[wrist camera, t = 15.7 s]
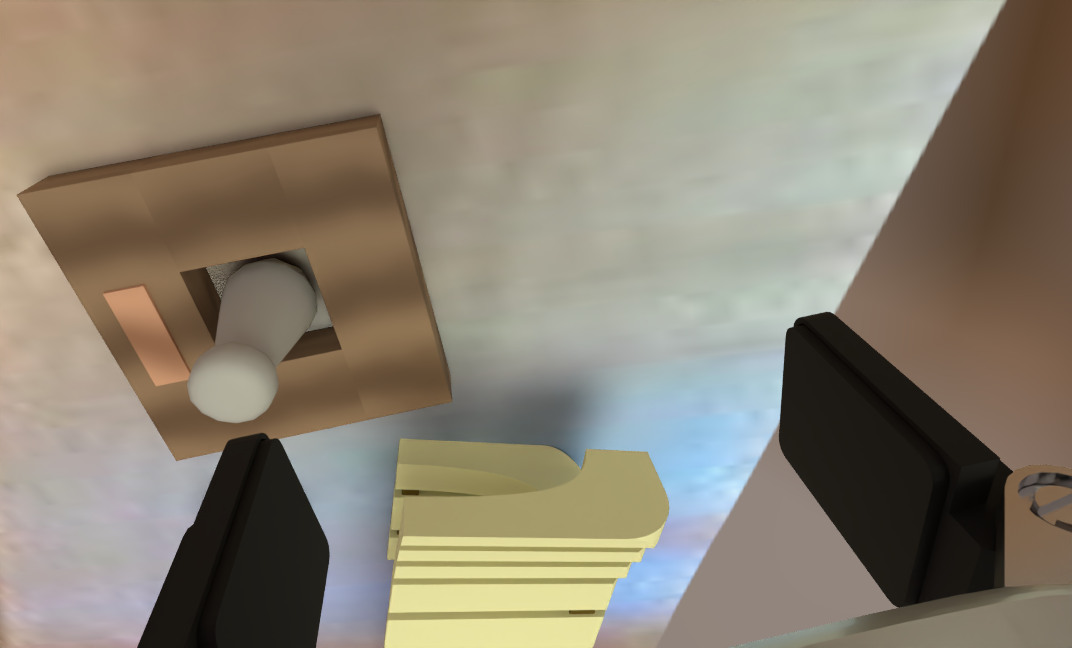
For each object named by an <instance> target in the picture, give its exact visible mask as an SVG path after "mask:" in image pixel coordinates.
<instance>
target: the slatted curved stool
mask: <svg viewBox="0 0 1072 648" xmlns="http://www.w3.org/2000/svg"><path fill="white" fill-rule="evenodd" d="M668 513H669V501H668V498H667V495H666V492H665V490H664V487H663V485H662V483H661V481H660V479H659V476H658V474H657V472H656V470H655V468H654V465H653V463H652V461H651V459H650V457H649V454H648V452H639V451H618V450H596V449H586V452H585V457H584V461H583V465H582V469H580V468H579V466H578V465H577V464H576V463H575V462H574V461H573V460H572V459H571V458H570V457H569V456H568V455H566V454H565V453H563V452H562V451H560V450H558V449H556V448H554V447H551V446H544V445H523V444H502V443H481V442H459V441H438V440H417V439H400V442H399V451H398V460H397V469H396V482H395V487H394V496H393V505H392V514H391V523H390V531H389V540H388V549H387V560H394V564H393V572H392V581H391V589H390V598H389V607H388V614H387V623H386V631H385V639H384V648H593V645H594V642H595V640H596V637H597V634H598V631H599V629H600V626H601V623H602V621H603V618H604V614H605V610H607V607H608V604H609V601H610V598H611V596H612V593H613V590H614V587H615V585H616V582H617V579H618V578H626V577H627V574H628V571H629V569H630V566H631V563H632V562H641V559H642V557H643V554H644V552H645V549H646V548H654V547H655V545H656V544H657V542H658V540H659V537H660V535H661V532H662V530H663V527H664V525H665V522H666V520H667V517H668Z"/></svg>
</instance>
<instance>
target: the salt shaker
mask: <svg viewBox="0 0 1072 648" xmlns="http://www.w3.org/2000/svg"><path fill="white" fill-rule="evenodd" d="M316 312H317V305H316V297H315V290H314V288H313V287H312V285H311V284H310V282H309V281H308V279H307V278H306V276H305V275H304V273H303V272H302V270H301V269H300V268H298V267H295V266H293V265H290V264H288V263H285V262H283V261H280V260H278V259H275V258H270V259H266V260H261V261H256V262H251V263H246V264H245V265H243V266H242V267H241V268H240V269H238V270H237V271H236V272H234V273H233V274H232V275H231V276H229V277H228V279H227V282H226V285H225V287H224V290H223V293H222V298H221V305H220V312H219V319H218V326H217V333H216V340H215V346H214V347H212V348H210V349H209V350H208V351H206V352H205V353H204V354H202V355H201V356H199V357H198V359H197V360H196V361H195V363H194V365H193V368H192V370H191V373H190V376H189V379H188V383H187V388H188V393H189V397H190V401H191V402H192V403H193V404H194V405H195V406H196V407H197V408H198V409H199V410H200V411H201V413H203V414H205V415H207V416H209V417H211V418H213V419H215V420H217V421H222V422H230V423H241V422H245V421H250V420H254V419H256V418H257V417H258V416H260V415H261V414H263V413H264V412H265V411H267V409H268V408H269V406H270V405H271V403H272V401H273V399H274V397H275V395H276V393H277V390H278V385H279V382H278V376H277V370H276V367H277V366H278V364H279V363H280V362H281V361H282V360H283V358H284V357H285V356H286V355H287V353H288V352H289V351H290V350H291V349H292V347H293V346H294V345H295V344H296V342H297V341H298V340H299V339H300V338H301V336H302V335H303V334H304V333H305V331H306V330H307V329H308V328H309V327H310V325H311V323H312V320H313V318H314V316H315V314H316Z"/></svg>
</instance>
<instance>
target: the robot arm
mask: <svg viewBox="0 0 1072 648" xmlns="http://www.w3.org/2000/svg"><path fill="white" fill-rule="evenodd" d="M779 442H780V446H781V450H782V452H783V454H784V456H785V458H786V459H787V460H788V462H789V463H790V464H791V466H792V467H793V468H794V470H795V471H796V473H797V474H798V475H799V477H800V478H801V480H802V481H803V482H804V484H805V485H806V486H807V488H808V489H809V491H810V492H811V493H812V495H813V496H814V497H815V499H816V500H817V502H818V503H819V504H820V506H821V507H822V508H823V510H824V511H825V512H826V514H827V515H828V517H829V518H830V520H831V521H832V522H833V524H834V525H835V526H836V528H837V529H838V530H839V532H840V533H841V535H842V536H843V537H844V539H845V540H846V542H847V543H848V544H849V546H850V547H851V548H852V549H853V551H854V552H855V554H856V555H857V557H858V558H859V559H860V561H861V562H862V563H863V565H864V566H865V567H866V569H867V571H868V572H869V573H870V575H871V576H872V577H873V579H874V580H875V582H876V583H877V584H878V585H879V587H880V588H881V590H882V591H883V593H884V594H885V595H886V597H887V598H888V599H889V600H890V602H891V603H892V604H893V605H895V606H896V607H899V608H896V609H892V610H887V611H883V612H879V613H873V614H869V615H865V616H861V617H856V618H852V619H848V620H843V621H839V622H835V623H831V624H827V625H823V626H818V627H814V628H809V629H805V630H801V631H797V632H793V633H788V634H784V635H780V636H776V637H771V638H767V639H763V640H759V641H755V642H751V643H746V644H742V645H738V646H734V647H729V648H1072V469H1069V468H1066V467H1059V466H1052V465H1029V466H1026V467H1023V468H1020V469H1017V470H1015V471H1014V472H1013V471H1012V470H1010V468H1008V467H1007V466H1006V465H1005V464H1004V463H1003V462H1001V461H1000V458H999V457H998V456H997V455H996V454H995V453H993V452H992V451H991V450H990V449H989V448H988V447H987V446H985V445H984V444H983V443H982V442H981V441H980V440H979V439H977V438H976V437H975V436H974V435H973V434H972V433H971V432H969V431H968V430H967V429H966V428H965V427H963V426H962V425H961V424H960V423H959V422H958V421H957V420H956V419H954V418H953V417H952V416H951V415H950V414H949V413H947V412H946V411H945V410H944V409H943V408H942V407H941V406H939V405H938V404H937V403H936V402H935V401H934V400H932V399H931V398H930V397H929V396H928V395H927V394H926V393H924V392H923V391H922V390H921V389H920V388H919V387H917V386H916V385H915V384H914V383H913V382H912V381H911V380H909V379H908V378H907V377H906V376H905V375H904V374H902V373H901V372H900V371H899V370H898V369H897V368H896V367H894V366H893V365H892V364H891V363H890V362H889V361H887V360H886V359H885V358H884V357H883V356H882V355H881V354H879V353H878V352H877V351H876V350H875V349H873V348H872V347H871V346H870V345H869V344H868V343H867V342H866V341H864V340H863V339H862V338H861V337H860V336H859V335H857V334H856V333H855V332H854V331H853V330H852V329H850V328H849V327H848V326H847V325H846V324H845V323H844V322H842V321H841V320H840V319H839V318H838V317H837V316H835V315H834V314H833V313H831V312H824V313H819V314H815V315H810V316H805V317H801V318H798V319H797V320H796V321H795V323H794V327H791V328H789V329H788V330H787V332H786V341H785V356H784V370H783V385H782V400H781V414H780V429H779ZM329 557H330V556H329V545H328V541H327V539H326V536H325V534H324V532H323V530H322V528H321V526H320V524H319V522H318V519H317V517H316V515H315V513H314V511H313V509H312V507H311V505H310V503H309V501H308V498H307V496H306V494H305V492H304V490H303V488H302V486H301V484H300V482H299V479H298V477H297V475H296V473H295V471H294V469H293V467H292V465H291V463H290V460H289V458H288V456H287V454H286V452H285V450H284V448H283V446H282V444H281V442H280V440H278V439H277V438H273V439H269V437H268V436H267V435H266V434H265V433H258V434H253V435H248V436H244V437H239V438H234V439H231V440H229V441H228V442H227V444H226V445H225V448H224V450H223V453H222V455H221V458H220V460H219V462H218V465H217V467H216V470H215V472H214V475H213V477H212V480H211V482H210V485H209V487H208V490H207V492H206V495H205V497H204V500H203V502H202V504H201V507H200V509H199V512H198V514H197V517H196V519H195V522H194V524H193V525H192V526H191V527H190V528H188V529H187V531H186V533H185V534H184V536H183V538H182V541H181V543H180V545H179V548H178V550H177V553H176V555H175V558H174V560H173V562H172V565H171V567H170V570H169V572H168V574H167V577H166V579H165V582H164V584H163V587H162V589H161V591H160V594H159V596H158V599H157V601H156V603H155V606H154V608H153V611H152V613H151V615H150V618H149V620H148V623H147V625H146V628H145V630H144V632H143V635H142V637H141V640H140V642H139V644H138V647H137V648H316V642H317V636H318V630H319V623H320V617H321V610H322V604H323V597H324V591H325V585H326V578H327V572H328V565H329ZM900 607H901V608H900Z"/></svg>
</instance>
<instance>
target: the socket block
mask: <svg viewBox="0 0 1072 648" xmlns="http://www.w3.org/2000/svg"><path fill="white" fill-rule="evenodd" d="M17 197H18V198H19V200H20V202H21V203H22V205H23V207H24V208H25V210H26V212H27V213H28V215H29V217H30V218H31V220H32V222H33V223H34V225H35V227H36V228H37V230H38V231H39V233H40V235H41V236H42V238H43V240H44V241H45V243H46V245H47V246H48V248H49V250H50V251H51V253H52V255H53V256H54V258H55V260H56V261H57V263H58V265H59V266H60V268H61V270H62V271H63V273H64V275H65V276H66V278H67V280H68V281H69V283H70V285H71V286H72V288H73V290H74V291H75V293H76V295H77V296H78V298H79V300H80V301H81V303H82V305H83V306H84V308H85V310H86V311H87V313H88V315H89V316H90V318H91V320H92V321H93V323H94V325H95V326H96V328H97V330H98V331H99V333H100V335H101V336H102V338H103V340H104V341H105V343H106V345H107V346H108V348H109V350H110V351H111V353H112V355H113V356H114V358H115V360H116V361H117V363H118V365H119V366H120V368H121V370H122V371H123V373H124V375H125V376H126V378H127V380H128V381H129V383H130V385H131V386H132V388H133V390H134V391H135V393H136V395H137V396H138V398H139V400H140V401H141V403H142V405H143V406H144V408H145V410H146V411H147V413H148V415H149V416H150V418H151V420H152V421H153V423H154V425H155V426H156V428H157V430H158V431H159V433H160V435H161V436H162V438H163V440H164V441H165V443H166V445H167V446H168V448H169V450H170V451H171V453H172V455H173V456H174V458H175V460H176V461H178V460H183V459H187V458H192V457H197V456H201V455H206V454H211V453H215V452H220V451H223V450H224V448H225V445H226V444H227V442H228V441H229V440H231V439H234V438H239V437H244V436H248V435H253V434H258V433H265V434H266V435H267V436H268V437H269V439H273V438H277V439H281V438H285V437H290V436H295V435H299V434H304V433H309V432H313V431H318V430H323V429H327V428H332V427H337V426H341V425H346V424H351V423H355V422H360V421H365V420H369V419H374V418H379V417H383V416H388V415H393V414H397V413H402V412H407V411H411V410H416V409H421V408H425V407H430V406H435V405H439V404H444V403H449V402H452V393H451V378H450V372H449V368H448V364H447V361H446V357H445V353H444V350H443V346H442V342H441V338H440V335H439V331H438V327H437V324H436V320H435V316H434V312H433V309H432V305H431V301H430V298H429V294H428V290H427V286H426V283H425V279H424V275H423V272H422V268H421V264H420V261H419V257H418V253H417V249H416V246H415V242H414V238H413V235H412V231H411V227H410V223H409V220H408V216H407V212H406V209H405V205H404V201H403V198H402V194H401V190H400V186H399V183H398V179H397V175H396V172H395V168H394V164H393V160H392V157H391V153H390V149H389V146H388V142H387V138H386V134H385V131H384V127H383V123H382V120H381V116H380V114H379V115H373V116H368V117H363V118H357V119H352V120H347V121H341V122H336V123H331V124H325V125H320V126H315V127H309V128H304V129H299V130H293V131H288V132H282V133H277V134H272V135H266V136H261V137H256V138H250V139H245V140H240V141H234V142H229V143H224V144H218V145H213V146H208V147H202V148H197V149H192V150H186V151H181V152H176V153H170V154H165V155H160V156H154V157H149V158H144V159H138V160H133V161H127V162H122V163H117V164H111V165H106V166H101V167H95V168H90V169H85V170H79V171H74V172H69V173H63V174H58V175H53V176H48V177H47V178H45V179H43V180H41V181H40V182H38V183H36V184H35V185H33V186H31V187H29V188H28V189H26V190H24V191H23V192H21V193H19V194H17ZM300 248H305V251H306V254H307V256H308V259H309V262H310V264H311V267H312V270H313V272H314V275H315V278H316V281H317V283H318V286H319V289H320V291H321V294H322V297H323V299H324V302H325V305H326V308H327V310H328V313H329V316H330V318H331V321H332V324H333V326H334V327H330V328H325V329H320V330H315V331H310V332H305V333H304V334H303V335H302V336H301V338H300V339H299V340H298V341H297V342H296V344H295V345H294V346H293V347H292V349H291V350H290V351H289V352H288V353H287V355H286V356H285V357H284V358H283V360H282V361H281V362H280V363H279V364H278V366H277V367H276V370H277V376H278V382H279V385H278V390H277V393H276V395H275V397H274V399H273V401H272V403H271V405H270V406H269V408H268V409H267V411H265V412H264V413H263V414H261V415H260V416H258V417H257V418H256V419H254V420H250V421H245V422H241V423H230V422H222V421H217V420H215V419H213V418H211V417H209V416H207V415H205V414H203V413H201V411H200V410H199V409H198V408H197V407H196V406H195V405H194V404H193V403H192V402H191V401H190V397H189V393H188V388H187V383H188V379H189V376H190V373H191V370H192V368H193V365H194V363H195V361H196V360H197V359H198V357H199V356H201V355H202V354H204V353H205V352H206V351H208V350H209V349H210V348H212V347H214V346H215V340H216V333H217V326H218V319H219V312H220V305H221V300H220V298H219V296H218V293H217V291H216V289H215V287H214V285H213V283H212V281H211V278H210V276H209V274H208V272H207V270H206V268H205V267H209V266H214V265H219V264H224V263H229V262H234V261H239V260H244V259H249V258H254V257H259V256H264V255H269V254H274V253H279V252H284V251H289V250H295V249H300Z"/></svg>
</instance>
